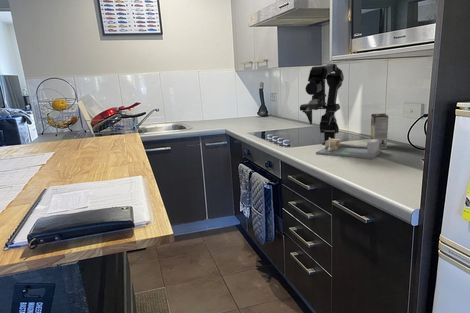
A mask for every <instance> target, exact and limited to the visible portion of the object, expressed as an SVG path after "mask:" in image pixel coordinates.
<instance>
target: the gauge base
mask: <svg viewBox="0 0 470 313" xmlns="http://www.w3.org/2000/svg"><path fill="white" fill-rule="evenodd" d="M381 153H382V149H379V140H376V139H372V140H371V139H370V140H368V141H367V146H358V145H357V146H356V145H344V144H343V145H342V144H340V148H338V149H336V150H330V151H329V150H325V147H323V148H321V149H319V150H317V151H316V152H315V154H316V155H322V156H333V157H346V158H353V159H354V158H355V159H356V158H357V159H365V160H368V159H369V160H373V159H374V158H376V157H377V156H379V154H381Z"/></svg>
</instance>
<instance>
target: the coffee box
mask: <svg viewBox="0 0 470 313" xmlns="http://www.w3.org/2000/svg"><path fill="white" fill-rule="evenodd" d="M370 121H371V123H370V124H371V125H370V140H372V139H376V140H379V150H382V149H388V134H389V133H388V130H389V115H388V114H386V113H384V112H383V113H372V114H371V119H370Z"/></svg>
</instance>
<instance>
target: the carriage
mask: <svg viewBox="0 0 470 313" xmlns="http://www.w3.org/2000/svg"><path fill="white" fill-rule="evenodd" d="M340 145H341V138H335V139H330V147H332V150H336V149H338V148H340ZM324 148H325V150H328V148H329V140H327V141H325V144H324Z"/></svg>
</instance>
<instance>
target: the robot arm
mask: <svg viewBox="0 0 470 313" xmlns="http://www.w3.org/2000/svg"><path fill="white" fill-rule="evenodd" d="M344 77H345V76H344V73H343V70H342V69H340V68H339V67H338V66H337V64H336V63H329V64H326V65H317V66H311V68H310V70H309V74H308V78H307V82H308V83H307V84H306V86H305V92H306V93H307V95H310V96H311V99H310V100H309V102H308V103H303V104H301V105H299V111H302V113H304V114H305V115H306V117H307V120H308V122H309V124H310V125H313V111H317V110H325V113H324V114H323V115H321V116H320V122H319V132H320V133H321V134H323V142H322V143H321V145H325V141H327V140H329V137H330V139H336V134H339V132H340V129H339V124H338V121H337V117H336V116H335V113H336V112H338V111H339V110H340V109H341V105H340V103H337V97H338V91H339V89H340V88H341V87H342V85H343V81H345V80H344V79H345V78H344ZM326 84H327V87H328V93H327V94H326ZM326 97H327V99H326Z"/></svg>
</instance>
